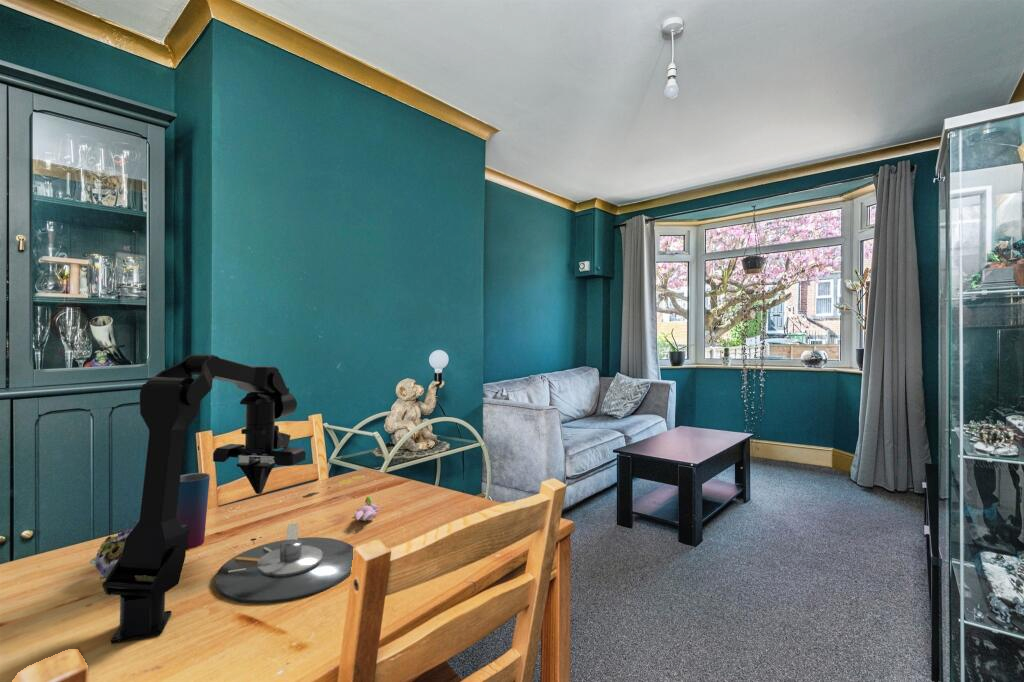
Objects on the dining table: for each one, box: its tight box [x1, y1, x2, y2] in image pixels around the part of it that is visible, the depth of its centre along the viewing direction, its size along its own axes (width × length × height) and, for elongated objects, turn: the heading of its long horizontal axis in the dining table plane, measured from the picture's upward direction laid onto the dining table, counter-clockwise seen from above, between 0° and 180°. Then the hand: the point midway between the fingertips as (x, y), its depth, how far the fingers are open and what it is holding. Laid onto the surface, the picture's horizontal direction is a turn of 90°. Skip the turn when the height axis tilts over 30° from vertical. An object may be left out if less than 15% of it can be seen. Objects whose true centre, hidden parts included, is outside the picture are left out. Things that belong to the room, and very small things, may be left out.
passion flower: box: [89, 527, 155, 580], centre depth 95 cm, size 11×11×12 cm
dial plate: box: [214, 536, 355, 604], centre depth 99 cm, size 26×26×1 cm
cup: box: [177, 472, 211, 549], centre depth 109 cm, size 7×7×15 cm
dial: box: [257, 522, 323, 576], centre depth 101 cm, size 17×12×4 cm
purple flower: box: [354, 495, 382, 521], centre depth 126 cm, size 6×6×15 cm
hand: (259, 493), depth 108 cm, fingers closed
